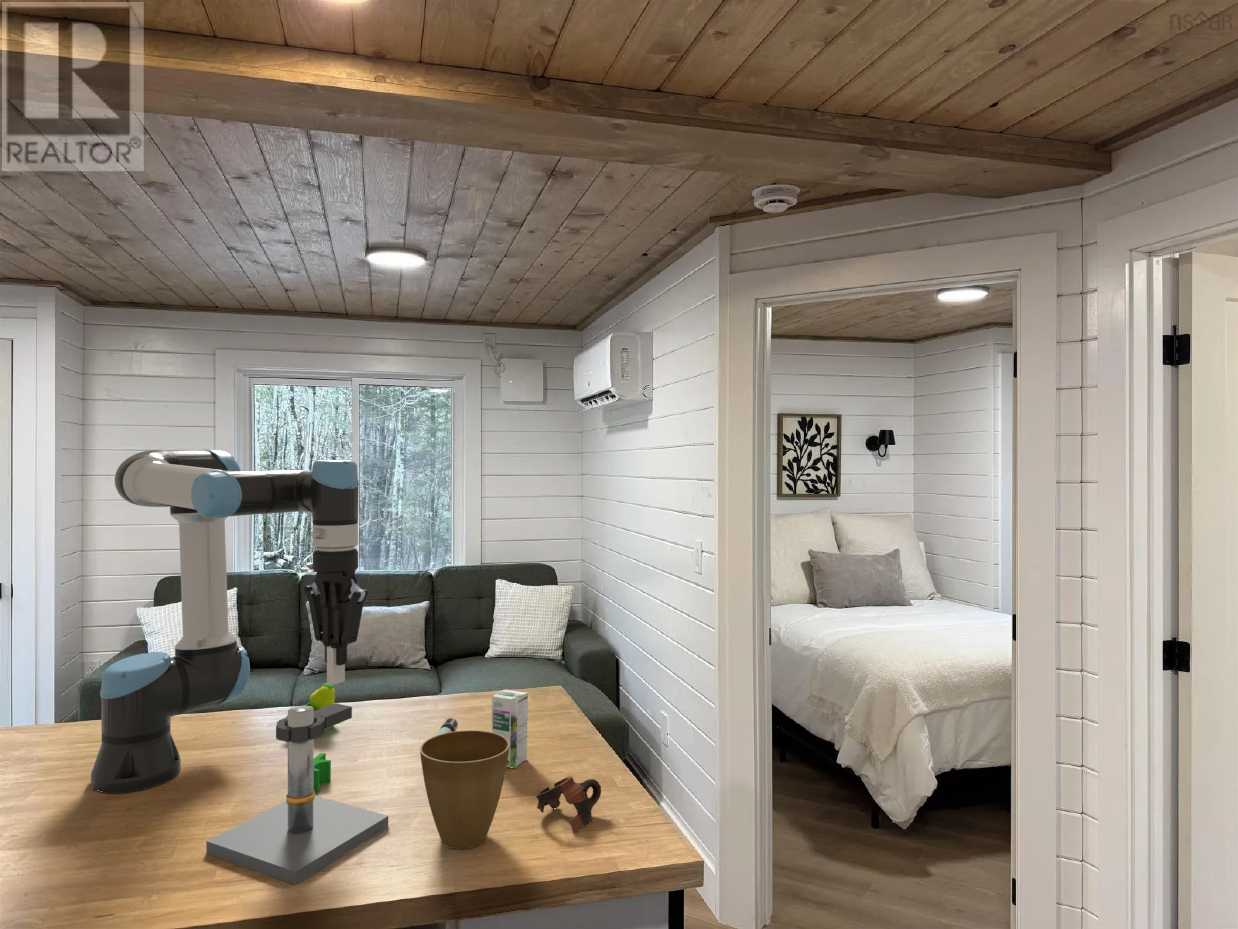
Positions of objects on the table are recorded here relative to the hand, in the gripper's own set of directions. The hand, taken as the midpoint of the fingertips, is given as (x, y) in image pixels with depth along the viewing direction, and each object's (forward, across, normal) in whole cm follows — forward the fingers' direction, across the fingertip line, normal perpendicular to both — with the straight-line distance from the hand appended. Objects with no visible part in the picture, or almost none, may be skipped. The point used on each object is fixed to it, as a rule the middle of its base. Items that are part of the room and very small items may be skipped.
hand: (336, 682), depth 138 cm
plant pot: (+25, +24, +6) cm, 35 cm away
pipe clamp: (+25, -14, +8) cm, 30 cm away
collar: (+7, 0, -4) cm, 8 cm away
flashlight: (+25, -5, +36) cm, 44 cm away
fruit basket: (+25, -36, +30) cm, 53 cm away
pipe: (+23, 0, -7) cm, 24 cm away
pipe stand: (+25, 0, -7) cm, 26 cm away
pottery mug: (+25, +36, +20) cm, 48 cm away
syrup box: (+25, +12, +36) cm, 45 cm away
